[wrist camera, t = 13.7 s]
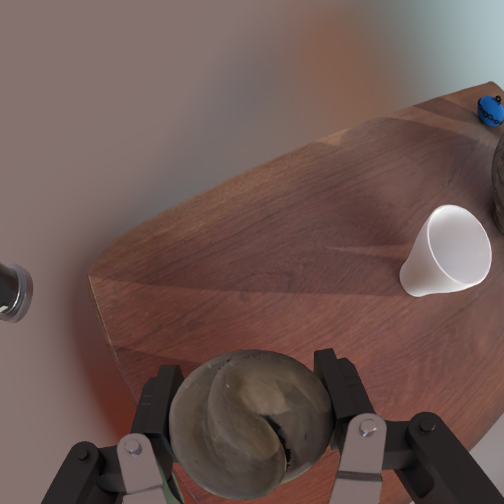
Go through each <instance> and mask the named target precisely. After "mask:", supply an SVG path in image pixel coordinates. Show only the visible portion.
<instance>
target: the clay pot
mask: <svg viewBox="0 0 504 504" xmlns="http://www.w3.org/2000/svg"><path fill="white" fill-rule="evenodd" d="M492 187H493V196H494V203H493V215H494V219H495V222H496V224H497V226H498V228H499V230H500V231H501V232H502V233H503V234H504V134H503V135H502V137H501V139H500V141H499V142H498V144H497V147H496V150H495V153H494V157H493V162H492Z"/></svg>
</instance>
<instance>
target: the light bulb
mask: <svg viewBox="0 0 504 504" xmlns="http://www.w3.org/2000/svg"><path fill="white" fill-rule="evenodd" d="M333 426H334V417H333V410H332V404H331V400H330V397H329V394H328V392H327V390H326V389H325V387H324V385H323V384H322V382H321V381H320V379H319V378H318V377H317V376H316V375H315V374H314V373H313V372H312V371H311V370H310V369H308V368H307V367H306V366H305V365H304V364H302V363H300V362H299V361H297V360H295V359H294V358H292V357H289V356H286V355H284V354H281V353H277V352H272V351H265V350H256V349H254V350H240V351H231V352H227V353H224V354H221V355H219V356H217V357H215V358H213V359H211V360H209V361H207V362H205V363H204V364H202V365H201V366H199V367H198V368H196V369H195V370H193V372H192V373H191V374H190V375H189V376H188V377H187V378H186V379H185V380H184V381H183V383H182V384H181V386H180V387H179V389H178V391H177V393H176V395H175V397H174V399H173V401H172V404H171V408H170V413H169V435H170V441H171V446H172V449H173V451H174V454H175V456H176V458H177V460H178V462H179V463H180V465H181V467H182V468H183V470H184V471H185V472H186V473H187V474H188V476H189V477H190V478H191V479H192V480H193V481H194V482H195V483H197V484H198V485H199V486H201V487H202V488H203V489H205V490H207V491H209V492H211V493H213V494H215V495H217V496H220V497H224V498H227V499H231V500H251V499H256V498H259V497H263V496H266V495H267V494H269V493H270V492H272V491H273V490H275V489H276V488H277V487H278V485H279V484H281V483H285V482H288V481H290V480H292V479H295V478H297V477H298V476H300V475H302V474H303V473H305V472H306V471H307V470H308V469H309V468H311V467H312V466H313V465H314V464H315V463H316V462H317V461H318V459H319V458H320V457H321V456H322V455H323V453H324V452H325V450H326V448H327V446H328V445H329V442H330V439H331V436H332V433H333Z"/></svg>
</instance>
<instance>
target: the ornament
mask: <svg viewBox="0 0 504 504" xmlns="http://www.w3.org/2000/svg"><path fill="white" fill-rule="evenodd" d="M498 98H499V100H498ZM500 101H501V97H500V96H496V98H495V97H491V96H485V97H483V98H480V99H479V100H478V106H477V110H478V114H479V117H480V118H481V120H482V121H483V122H484V123H485V124H487V125H489V126H498V125H501V124H502V123H503V121H504V109H503V106H502V104H501V103H500Z"/></svg>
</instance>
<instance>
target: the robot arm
mask: <svg viewBox="0 0 504 504" xmlns="http://www.w3.org/2000/svg"><path fill="white" fill-rule="evenodd" d="M21 289H22V283H21V278H20V275H19V273H18V272H17V271H16V270H14V269H12V268H10V267H8V266H6V265H4V264H3V263H1V262H0V313H2V314H9V313H11V312H12V311H13V310H14V309H15V308H16V306H17V304H18V302H19V299H20V296H21ZM314 374H315V375H316V376H317V377H318V378H319V379H320V381H321V382H322V384H323V385H324V387H325V389H326V390H327V392H328V394H329V397H330V400H331V404H332V410H333V417H334V426H333V433H332V436H331V439H330V446H331V450H334V449H338V448H339V452H340V455H341V458H340V461H339V465H338V469H337V473H336V477H335V480H334V484H333V487H332V491H331V494H330V498H329V501H328V504H379V499H380V493H381V488H382V477H381V470H390V469H393V470H394V471H395V473H396V474H397V476H398V477H399V479H400V481H401V482H402V484H403V485H404V487H405V489H406V490H407V492H408V493H409V495H410V496H411V498H412V500H413V501H414V503H415V504H504V497H503V496H502V495H501V493H500V492H499V491H498V489H497V488H496V487H495V486H494V484H493V483H492V482H491V480H490V479H489V478H488V476H487V475H486V474H485V473H484V472H483V470H482V469H481V467H480V466H479V465H478V464H477V462H476V461H475V460H474V459H473V457H472V456H471V455H470V454H469V452H468V451H467V450H466V449H465V447H464V446H463V445H462V444H461V443H460V441H459V440H458V439H457V438H456V436H455V435H454V434H453V433H452V432H451V430H450V429H449V428H448V427H447V426H446V424H445V423H444V422H443V421H442V420H441V418H440V417H439V416H437V415H436V414H434V413H431V412H421V413H418V414H416V415H415V416H414V417H412V419H411V420H410V421H396V422H394V421H387V420H384V419H383V418H382V417H380V416H379V415H377V414H376V413H375V411H374V409H373V407H372V405H371V402H370V400H369V398H368V395H367V393H366V391H365V388H364V386H363V384H362V381H361V379H360V377H359V376H358V372H357V370H356V368H355V366H354V364H353V363H351V362H350V361H349V360H348V359H347V358H341V359H337V358H336V356H335V353H334V351H333V349H332V348H329V349H323V350H317V351H314ZM183 381H184V377H183V374H182V372H181V369H180V367H179V365H162V366H160V369H159V372H158V376H157V377H151V378H150V379H149V380H148V381H147V383H146V384H145V385H144V387H143V390H142V393H141V397H140V400H139V405H138V407H137V411H136V414H135V418H134V421H133V425H132V429H131V432H130V434H129V435H126V436H124V437H123V438H122V439H121V440H120V441H119V443H118V445H115V446H110V447H104V448H97V447H96V446H95V445H94V444H93V443H91V442H87V441H85V442H84V441H83V442H79V443H77V444H75V445H74V446H73V447H72V448H71V450H70V452H69V453H68V455H67V457H66V459H65V460H64V462H63V464H62V466H61V467H60V469H59V471H58V473H57V475H56V477H55V478H54V480H53V482H52V484H51V485H50V487H49V489H48V491H47V493H46V495H45V497H44V499H43V501H42V502H41V504H122V502H123V503H124V504H186V502H185V500H184V498H183V495H182V493H181V490H180V488H179V486H178V483H177V481H176V478H175V476H174V473H173V471H172V466H173V462H177V463H179V462H178V460H177V458H176V456H175V454H174V451H173V449H172V446H171V441H170V435H169V413H170V408H171V404H172V401H173V399H174V397H175V395H176V393H177V391H178V389H179V387H180V386H181V384H182V383H183Z"/></svg>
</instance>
